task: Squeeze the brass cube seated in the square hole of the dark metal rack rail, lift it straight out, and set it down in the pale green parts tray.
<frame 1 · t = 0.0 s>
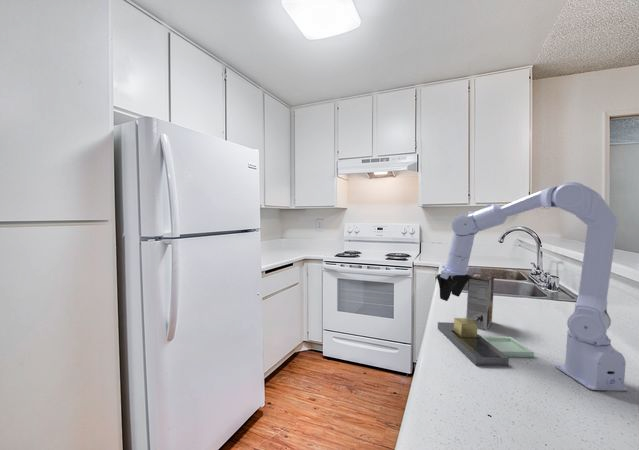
hand: (449, 297, 90), 11 cm above the countertop, tool pointing down, fingers open, 7 cm apart
brass cube: (464, 341, 83), resting in rail
rail: (468, 344, 81), on the countertop
tray: (504, 348, 79), on the countertop
coffee box: (479, 324, 97), on the countertop
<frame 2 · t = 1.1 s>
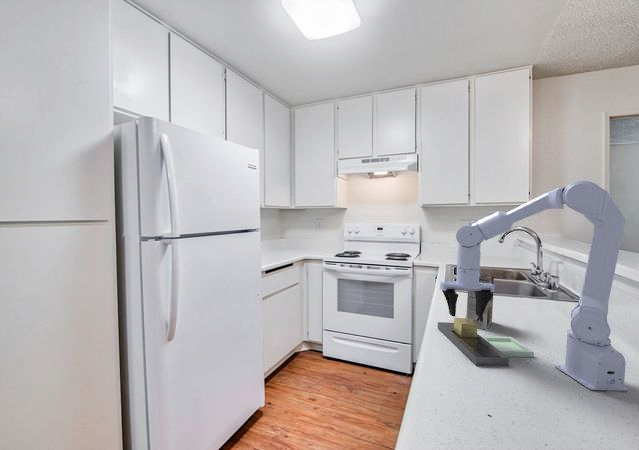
hand: (465, 315, 83), 7 cm above the countertop, tool pointing down, fingers open, 7 cm apart
nothing on the countertop moved.
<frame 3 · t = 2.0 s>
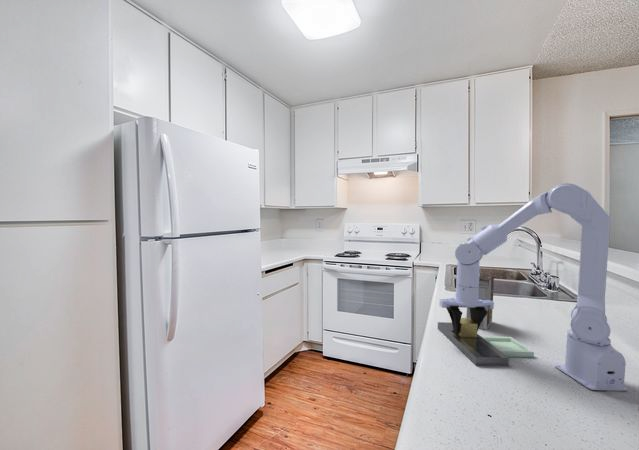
hand: (465, 332, 83), 3 cm above the countertop, tool pointing down, fingers closed on brass cube, 4 cm apart
brass cube: (464, 341, 83), resting in rail, touching gripper
everything else where it was.
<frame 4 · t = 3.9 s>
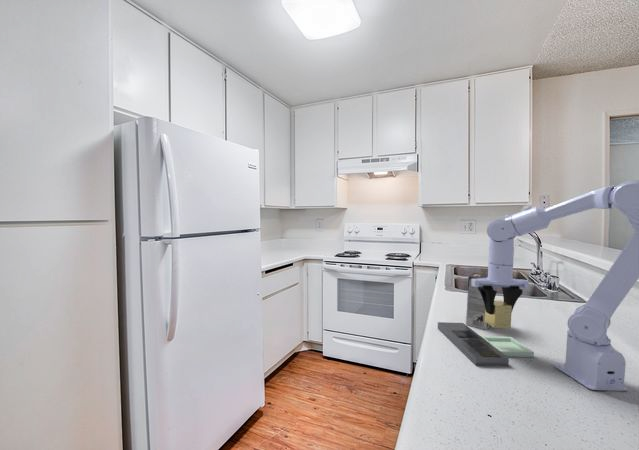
hand: (498, 313, 79), 9 cm above the countertop, tool pointing down, fingers closed on brass cube, 4 cm apart
brass cube: (497, 324, 80), point 6 cm above the countertop, touching gripper
everything else where it was.
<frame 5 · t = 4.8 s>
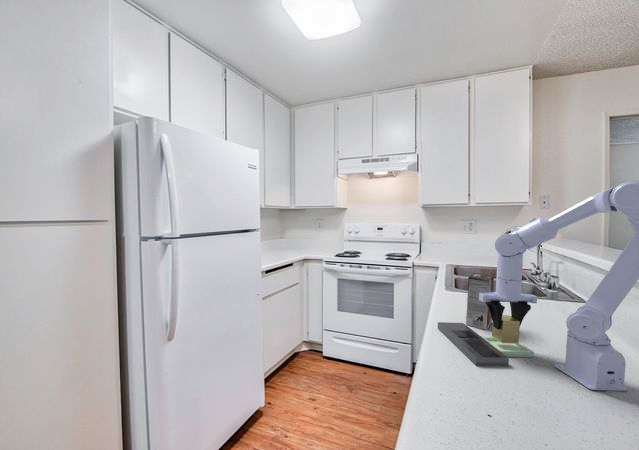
hand: (505, 328, 79), 6 cm above the countertop, tool pointing down, fingers closed on brass cube, 4 cm apart
brass cube: (504, 339, 79), point 2 cm above the countertop, touching gripper
everything else where it was.
when the fingers open (5 cm above the countertop, at t = 5.5 s): brass cube stays where it is, resting on tray.
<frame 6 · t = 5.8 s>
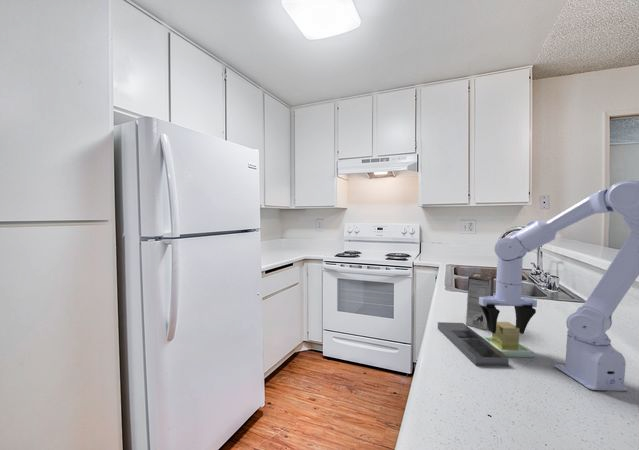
hand: (505, 332, 79), 5 cm above the countertop, tool pointing down, fingers open, 7 cm apart
brass cube: (504, 346, 79), resting on tray
everything else where it was.
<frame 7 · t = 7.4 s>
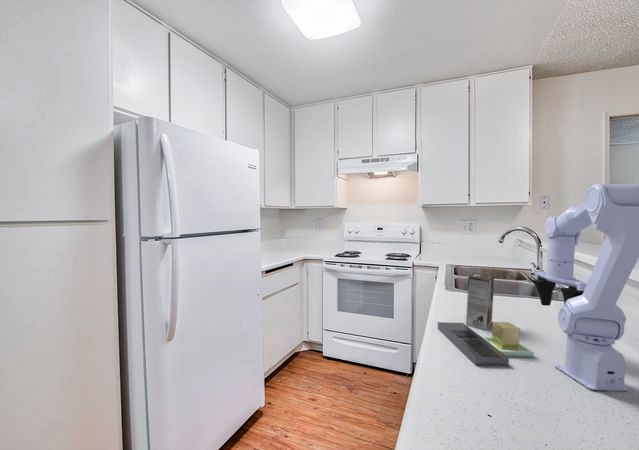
hand: (557, 309, 81), 10 cm above the countertop, tool pointing down, fingers open, 7 cm apart
nothing on the countertop moved.
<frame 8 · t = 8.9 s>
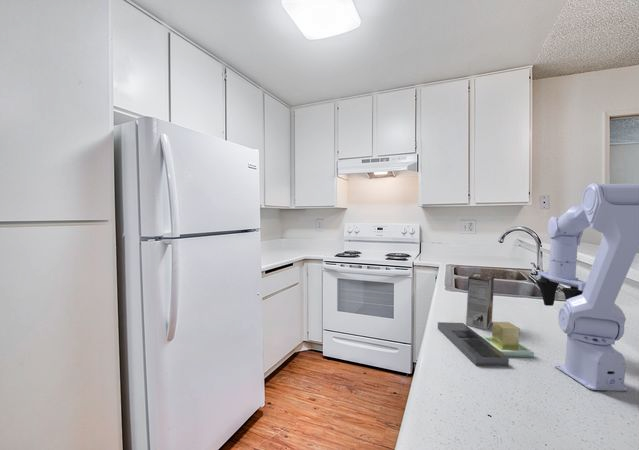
hand: (559, 309, 81), 10 cm above the countertop, tool pointing down, fingers open, 7 cm apart
nothing on the countertop moved.
at the end: brass cube inside the target area on the tray (0.2 cm from its centre), point 0.5 cm above the tray's base; brass cube touching tray; the gripper is holding nothing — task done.
